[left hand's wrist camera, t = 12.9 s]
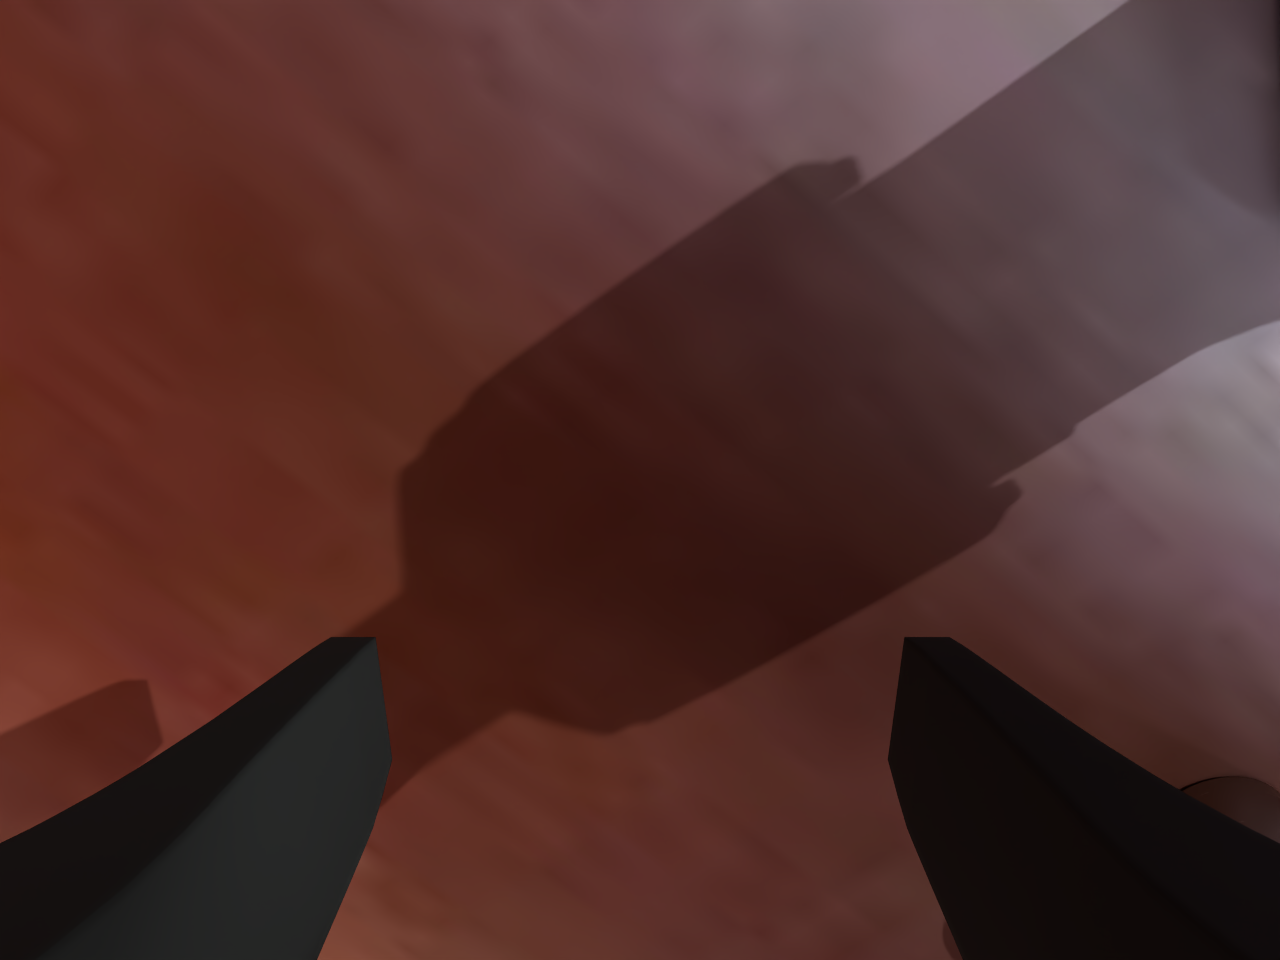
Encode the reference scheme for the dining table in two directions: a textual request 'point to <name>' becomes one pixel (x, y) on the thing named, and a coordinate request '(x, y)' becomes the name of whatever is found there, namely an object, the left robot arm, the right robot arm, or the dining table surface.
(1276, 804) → the can
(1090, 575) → the dining table surface
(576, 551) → the dining table surface
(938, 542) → the dining table surface
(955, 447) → the dining table surface
